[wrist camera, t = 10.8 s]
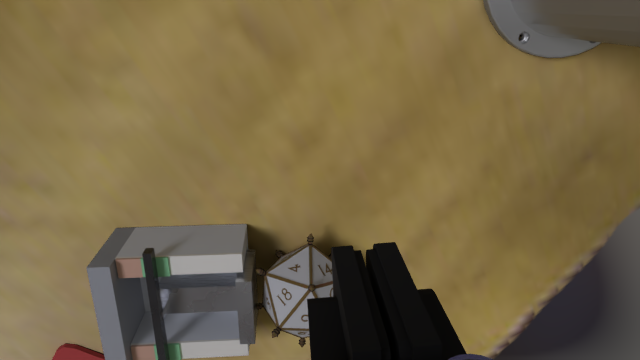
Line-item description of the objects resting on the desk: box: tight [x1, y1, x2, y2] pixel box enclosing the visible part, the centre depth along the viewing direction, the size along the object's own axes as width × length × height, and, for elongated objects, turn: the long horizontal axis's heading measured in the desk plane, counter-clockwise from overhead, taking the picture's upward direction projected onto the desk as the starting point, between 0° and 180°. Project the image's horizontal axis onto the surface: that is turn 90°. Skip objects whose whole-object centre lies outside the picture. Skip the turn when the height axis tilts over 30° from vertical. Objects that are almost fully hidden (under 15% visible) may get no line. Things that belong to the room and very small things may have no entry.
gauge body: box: [87, 224, 250, 360], centre depth 39 cm, size 11×10×6 cm
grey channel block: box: [142, 248, 258, 360], centre depth 38 cm, size 8×12×5 cm
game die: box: [255, 234, 333, 347], centre depth 39 cm, size 9×8×10 cm
